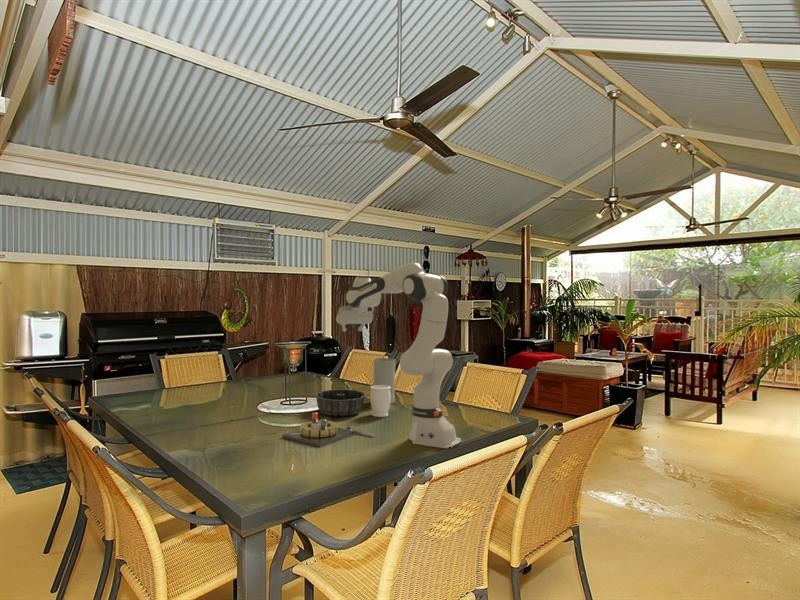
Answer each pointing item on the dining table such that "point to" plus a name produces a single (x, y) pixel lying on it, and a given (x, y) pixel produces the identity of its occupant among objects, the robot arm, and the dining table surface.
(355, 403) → the bundt pan
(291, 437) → the cap plate
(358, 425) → the dining table surface
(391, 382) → the cylinder vase
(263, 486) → the dining table surface
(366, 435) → the spanner
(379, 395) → the jar
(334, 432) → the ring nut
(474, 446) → the dining table surface
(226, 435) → the dining table surface
